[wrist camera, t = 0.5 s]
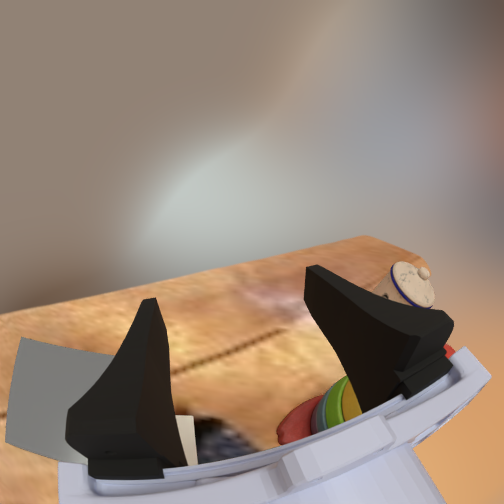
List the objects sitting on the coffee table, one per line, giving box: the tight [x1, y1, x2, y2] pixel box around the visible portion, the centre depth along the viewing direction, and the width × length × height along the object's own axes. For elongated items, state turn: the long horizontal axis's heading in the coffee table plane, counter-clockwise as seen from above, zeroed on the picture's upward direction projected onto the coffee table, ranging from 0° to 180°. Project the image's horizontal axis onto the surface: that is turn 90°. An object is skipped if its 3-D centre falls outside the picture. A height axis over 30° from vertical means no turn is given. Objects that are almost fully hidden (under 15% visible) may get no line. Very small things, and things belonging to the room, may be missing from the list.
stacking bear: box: [277, 343, 455, 445], centre depth 20 cm, size 11×10×18 cm
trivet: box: [5, 337, 115, 465], centre depth 18 cm, size 12×12×1 cm
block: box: [175, 415, 198, 466], centre depth 18 cm, size 5×5×5 cm
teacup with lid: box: [371, 262, 435, 309], centre depth 38 cm, size 12×9×12 cm
